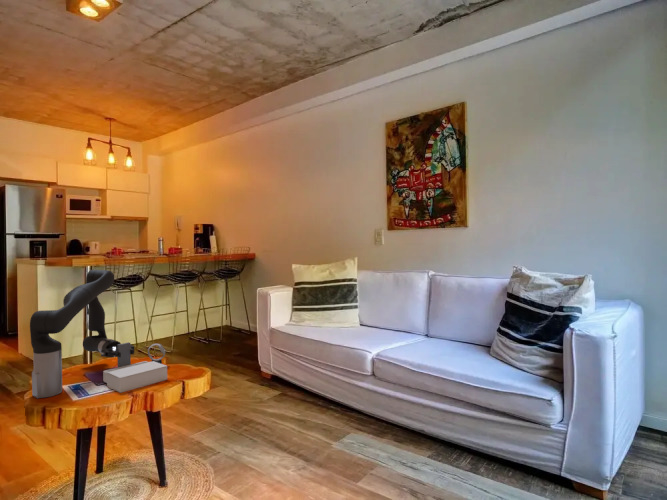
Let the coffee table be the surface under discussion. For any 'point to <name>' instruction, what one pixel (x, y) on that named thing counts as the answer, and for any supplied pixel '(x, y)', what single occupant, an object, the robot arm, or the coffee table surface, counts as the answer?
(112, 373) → the light grey rectangular box
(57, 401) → the coffee table surface
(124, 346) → the dark grey upright bracket
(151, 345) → the watch
